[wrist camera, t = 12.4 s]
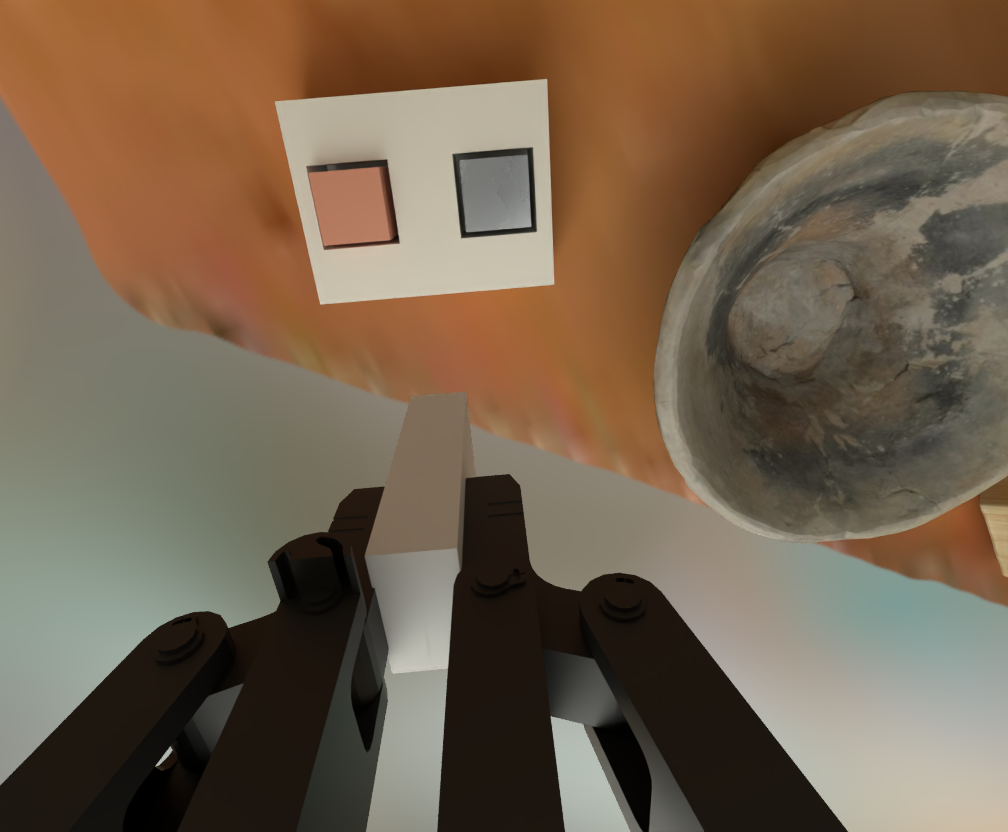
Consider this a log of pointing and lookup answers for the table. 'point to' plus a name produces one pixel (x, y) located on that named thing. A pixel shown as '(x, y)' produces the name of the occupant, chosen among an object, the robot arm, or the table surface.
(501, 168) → the grey metal cube
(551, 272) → the block
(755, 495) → the bowl
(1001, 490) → the knife block
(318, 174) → the pink cube
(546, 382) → the table surface
